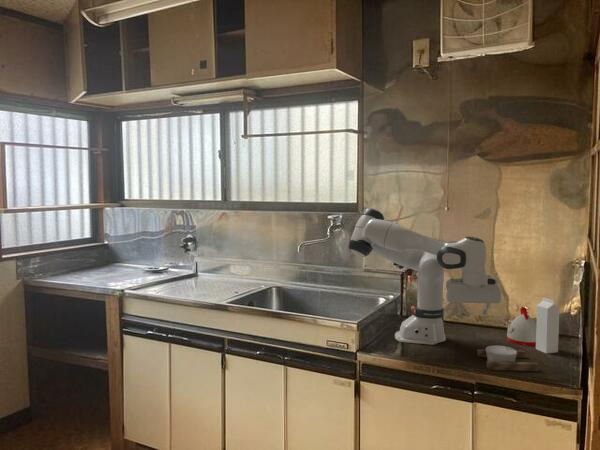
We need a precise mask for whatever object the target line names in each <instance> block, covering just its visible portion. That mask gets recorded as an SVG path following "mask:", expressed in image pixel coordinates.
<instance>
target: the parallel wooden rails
mask: <svg viewBox="0 0 600 450" xmlns="http://www.w3.org/2000/svg"><path fill="white" fill-rule="evenodd" d="M515 350H516V351H517V355H516V358H515V359H526V351H525V350H521V349H515ZM476 352H477V353H476V355H477V357H479V358H487V352H486V348H485V349H484V348H483V349H482V348H480V349H479V348H477V351H476ZM486 369H487V370H489V371H491V370H492V371H494V370H495V371H519V372H520V371H521V372H538V371H539V364H538V363H537V362H529V361H527V362H525V361H523V362H522V361H519V362H518V361H515V362H495V361H488V360H486Z"/></svg>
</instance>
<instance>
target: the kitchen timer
mask: <svg viewBox="0 0 600 450" xmlns="http://www.w3.org/2000/svg"><path fill="white" fill-rule="evenodd" d="M519 310H520V315H517V316H516V317H515V318H514V319H513V320H512V321H511V323H508V325H507V332H506V341H508V342H509V343H511V344H514V345H519V346H526V347H527V346H528V347H536V324H537V322H536V321H535V320H534V319H533V318H532V316H530V315H529V314H528V313H529V312H528V311H527V308H526V307H525V306H521V307H520V309H519Z"/></svg>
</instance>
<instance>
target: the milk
mask: <svg viewBox="0 0 600 450" xmlns="http://www.w3.org/2000/svg"><path fill="white" fill-rule="evenodd" d="M559 326H560V306H558V305H557V304H555V301H554V300H553V299H551V298H546V297H542V301H541V302H540V303H538V304H537V305H536V345H535V350H537V351H539V352H542V353H544V354H555V353H558V352H559V336H560V335H559V334H560V333H559V331H560V327H559Z"/></svg>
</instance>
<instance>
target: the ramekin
mask: <svg viewBox="0 0 600 450" xmlns="http://www.w3.org/2000/svg"><path fill="white" fill-rule="evenodd" d="M485 349H486V352H487V357H486V358H487V361H495V362H516V359H517V358H516V355H517V351H516V350H517V349H515V348H513V347H509V346H505V345H498V344H497V345H494V344H493V345H488V346H486V347H485Z"/></svg>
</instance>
